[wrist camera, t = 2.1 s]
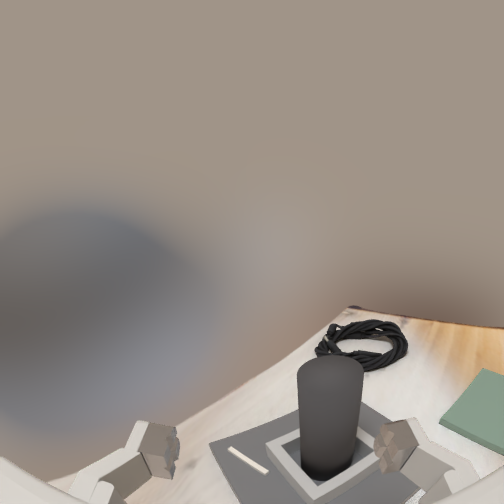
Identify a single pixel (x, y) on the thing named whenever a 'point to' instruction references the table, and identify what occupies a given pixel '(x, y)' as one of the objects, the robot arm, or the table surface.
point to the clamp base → (295, 479)
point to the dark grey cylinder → (328, 414)
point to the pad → (480, 411)
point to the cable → (365, 331)
